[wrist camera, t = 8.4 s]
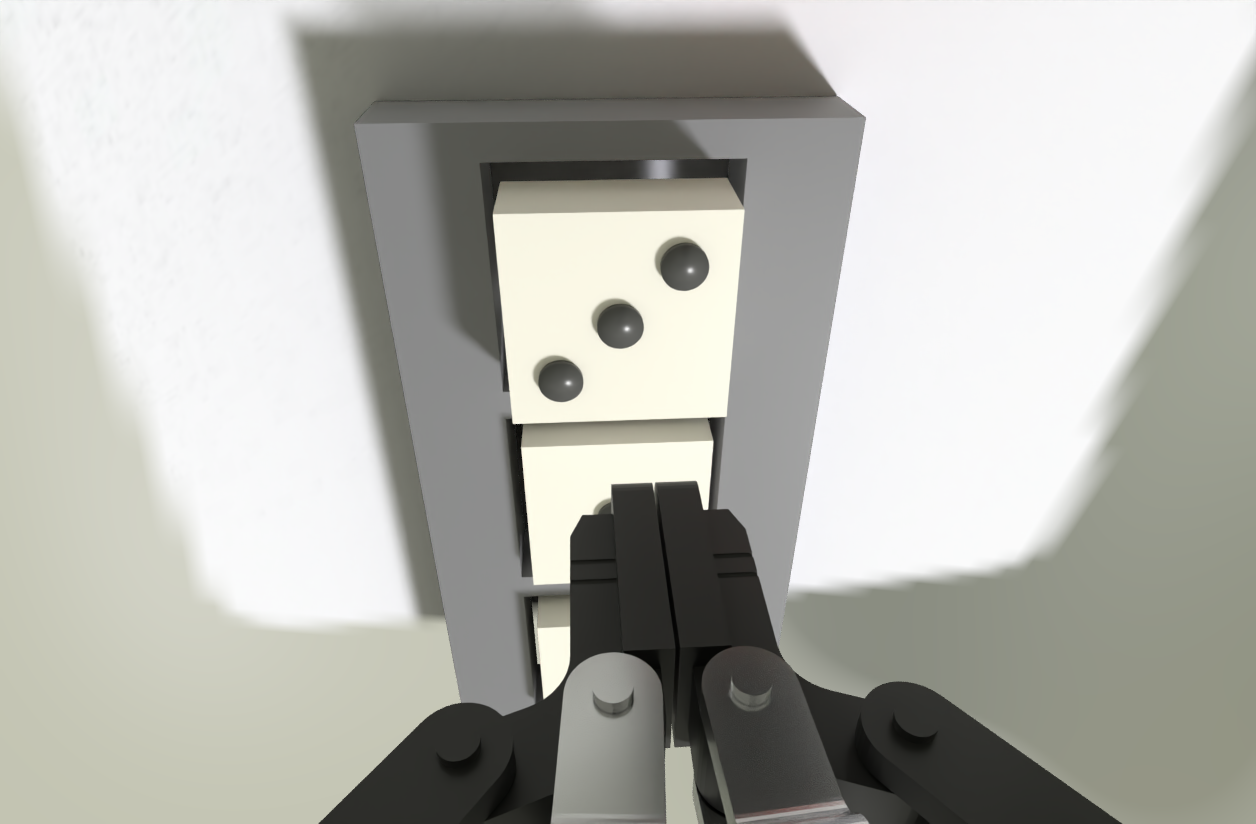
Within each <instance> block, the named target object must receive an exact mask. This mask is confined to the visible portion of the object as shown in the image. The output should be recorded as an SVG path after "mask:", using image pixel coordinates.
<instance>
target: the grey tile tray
mask: <svg viewBox="0 0 1256 824" xmlns="http://www.w3.org/2000/svg"><path fill="white" fill-rule="evenodd" d="M865 120H866V117H865V116H863V115H862V114H861V113H859V112H858V111H857V110H855V109H854V108H853V107H852V106H850V105H849V104H848V103H846V102H845V101H844V100H842V99H841V98H840V97H838V96H826V97H736V98H646V99H557V100H467V101H377V102H374V103H373V104H372V105H371V106H370V107H369V108H368V109H367V110H366V111H365V112H364V113H363V115H362V116H361V117H360V118H359V119H358V120H357V121H356V122H355V123H354V128H355V133H356V138H357V144H358V149H359V155H360V160H361V165H362V171H363V176H364V182H365V187H366V192H367V198H368V203H369V209H370V214H371V219H372V225H373V230H374V236H375V241H376V246H377V252H378V257H379V263H380V268H381V273H382V279H383V284H384V290H385V295H386V300H387V306H388V311H389V317H390V322H391V327H392V333H393V338H394V344H395V349H396V354H397V360H398V365H399V371H400V376H401V381H402V387H403V392H404V397H405V403H406V408H407V414H408V419H409V424H410V430H411V435H412V441H413V446H414V451H415V457H416V462H417V468H418V473H419V478H420V484H421V489H422V495H423V500H424V505H425V511H426V516H427V522H428V527H429V532H430V538H431V543H432V549H433V554H434V559H435V565H436V570H437V576H438V581H439V586H440V592H441V597H442V603H443V608H444V613H445V619H446V624H447V630H448V635H449V640H450V646H451V651H452V656H453V661H454V667H455V672H456V678H457V683H458V689H459V694H460V699H461V703H479V704H483V705H486V706H489V707H491V708H492V709H494V710H496V711H497V712H498V713H500V714H501V715H502V716H505V715H507V714H510V713H513V712H516V711H518V710H521V709H524V708H527V707H529V706H531V705H534V704H536V703H538V702H540V701H541V700H543V699H544V698H543V687H542V676H541V665H540V664H537V656H536V655H537V654H536V644H535V634H534V623H533V612H532V601H531V596H550V595H570V583H566V584H544V585H534V583H533V572H532V561H531V550H530V539H529V531H525V527H524V517H523V506H522V496H521V485H520V474H519V464H518V453H517V443H516V432H515V424H513V421H512V411H511V400H510V390H509V379H508V369H507V359H506V348H505V338H504V327H503V317H502V306H501V296H500V286H499V275H498V265H497V254H496V244H495V234H494V223H493V211H494V199H493V188H492V178H491V167H490V162H550V161H615V160H680V159H729V170H728V180H729V182H730V184H731V186H732V187H733V189H734V191H735V193H736V195H737V196H738V198H739V200H740V202H741V204H742V205H743V207H744V209H745V212H744V224H743V235H742V246H741V258H740V269H739V280H738V292H737V303H736V315H735V326H734V337H733V349H732V360H731V372H730V383H729V394H728V406H727V417H710V430H711V434H712V437H713V452H712V465H711V478H710V491H709V503H708V510H713V509H729V510H730V511H731V513H732V514H733V515H734V516H735V517H736V518H737V520H738V521H739V522H740V523H741V524H742V525H743V526H744V528H745V529H746V532H747V535H748V539H749V543H750V546H751V550H752V557H754V561H755V565H756V568H757V575H758V576H759V579H760V583H761V587H762V590H763V594H764V598H765V601H766V605H767V609H768V613H769V616H770V620H771V624H772V627H773V631H774V635H775V638H776V642H777V646H778V647H779V641H780V635H781V629H782V623H783V617H784V611H785V605H786V599H787V593H788V587H789V581H790V575H791V569H792V563H793V557H794V551H795V545H796V538H797V532H798V526H799V520H800V514H801V508H802V502H803V496H804V490H805V484H806V478H807V472H808V466H809V460H810V454H811V448H812V442H813V435H814V429H815V423H816V417H817V411H818V405H819V399H820V393H821V387H822V381H823V375H824V369H825V363H826V357H827V351H828V345H829V339H830V332H831V326H832V320H833V314H834V308H835V302H836V296H837V290H838V284H839V278H840V272H841V266H842V260H843V254H844V248H845V242H846V236H847V229H848V223H849V217H850V211H851V205H852V199H853V193H854V187H855V181H856V175H857V169H858V163H859V157H860V151H861V145H862V139H863V133H864V126H865Z"/></svg>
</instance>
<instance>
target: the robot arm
mask: <svg viewBox="0 0 1256 824" xmlns="http://www.w3.org/2000/svg"><path fill="white" fill-rule="evenodd" d="M671 724H672V730H673V738H674V746H675V747H686V746H690V748H691V754H692V762H693V769H694V779H693V801H694V805H695V810H696V815H697V820H698V824H1122V823H1120V822H1119V821H1118V820H1116V819H1115V818H1113V817H1112V816H1110V815H1109V814H1108V813H1106V812H1105V811H1103V810H1102V809H1101V808H1099V807H1098V806H1096V805H1095V804H1093V803H1092V802H1091V801H1089V800H1088V799H1086V798H1085V797H1083V796H1082V795H1081V794H1079V793H1078V792H1077V791H1075V790H1074V789H1072V788H1071V787H1070V786H1068V785H1067V784H1065V783H1064V782H1062V781H1061V780H1060V779H1058V778H1057V777H1055V776H1054V775H1053V774H1051V773H1050V772H1048V771H1047V770H1045V769H1044V768H1042V767H1041V766H1040V765H1038V764H1037V763H1036V762H1034V761H1033V760H1031V759H1030V758H1028V757H1027V756H1026V755H1024V754H1023V753H1021V752H1020V751H1019V750H1017V749H1016V748H1014V747H1013V746H1012V745H1010V744H1009V743H1007V742H1006V741H1005V740H1003V739H1001V738H1000V737H999V736H997V735H996V734H995V733H993V732H992V731H990V730H989V729H988V728H986V727H985V726H983V725H982V724H980V723H979V722H978V721H976V720H975V719H973V718H972V717H971V716H969V715H967V714H966V713H965V712H963V711H962V710H961V709H959V708H958V707H956V706H955V705H954V704H952V703H951V702H949V701H948V700H946V699H945V698H944V697H942V696H941V695H939V694H938V693H936V692H934V691H933V690H931V689H928V688H926V687H924V686H921V685H918V684H914V683H909V682H889V683H886V684H882V685H880V686H878V687H876V688H875V689H873V690H872V691H871V692H870V693H869V694H868V695H867V696H866V698H865V699H864V698H860V697H856V696H852V695H847V694H843V693H839V692H834V691H830V690H827V689H824V688H821V687H819V686H816V685H814V684H811V683H810V682H808V681H807V680H805V679H803V678H802V677H801V676H799V675H798V674H797V673H795V672H794V671H793V669H792V668H791V667H790V666H789V665H788V664H787V663H786V662H785V660H784V659H783V657H782V655H781V653H780V651H779V648H778V646H777V642H776V638H775V635H774V631H773V627H772V624H771V620H770V616H769V613H768V609H767V605H766V601H765V598H764V594H763V590H762V587H761V583H760V579H759V576H758V575H757V568H756V565H755V561H754V557H752V550H751V546H750V543H749V539H748V535H747V532H746V529H745V528H744V526H743V525H742V524H741V523H740V522H739V521H738V520H737V518H736V517H735V516H734V515H733V514H732V513H731V511H730V510H729V509H713V510H703V505H702V500H701V496H700V491H699V487H698V483H697V481H676V482H655V486H654V489H653V484H652V483H629V484H611V514H595V515H582V516H581V518H580V520H579V522H578V523H577V525H576V527H575V529H574V530H573V532H572V534H571V536H570V662H569V667H568V670H567V673H566V675H565V677H564V679H563V680H562V682H561V683H560V685H559V686H558V687H557V688H556V689H555V690H554V691H553V692H552V693H551V694H550V695H549V696H547V697H546V698H545V699H543V700H541V701H540V702H538V703H536V704H534V705H531V706H529V707H527V708H524V709H521V710H518V711H516V712H513V713H510V714H507V715H505V716H502V715H501V714H500V713H498V712H497V711H496V710H494V709H492V708H491V707H489V706H486V705H483V704H479V703H458V704H453V705H450V706H446V707H444V708H442V709H440V710H438V711H436V712H434V713H433V714H431V715H430V716H429V717H427V718H426V719H425V720H424V721H423V722H422V723H420V724H419V725H418V727H416V728H415V729H414V731H413V732H411V733H410V734H409V735H408V736H407V737H406V738H405V739H404V740H403V741H402V742H401V743H400V744H399V745H398V746H397V747H396V748H395V749H394V750H393V751H392V752H391V753H390V754H389V755H388V756H387V757H386V758H385V759H384V760H383V761H382V762H381V763H380V764H379V765H378V766H377V767H376V768H375V769H374V770H373V771H372V772H371V773H370V774H369V775H368V776H367V777H366V778H365V779H363V780H362V781H361V782H360V783H359V784H358V785H357V786H356V787H355V788H354V789H353V790H352V791H351V792H350V793H349V794H348V795H347V796H346V797H345V798H344V799H343V800H342V801H341V802H340V803H339V804H338V805H337V806H336V807H335V808H334V809H333V810H332V811H331V812H330V813H329V814H328V815H327V816H326V817H325V818H324V819H323V820H322V821H321V822H320V823H319V824H666V796H665V795H666V794H665V748H670V743H671Z"/></svg>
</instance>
